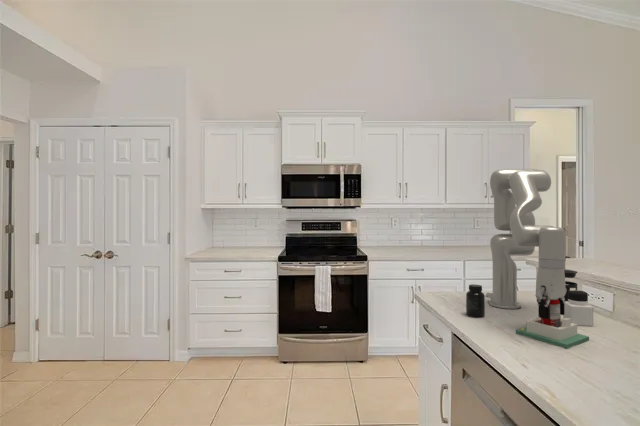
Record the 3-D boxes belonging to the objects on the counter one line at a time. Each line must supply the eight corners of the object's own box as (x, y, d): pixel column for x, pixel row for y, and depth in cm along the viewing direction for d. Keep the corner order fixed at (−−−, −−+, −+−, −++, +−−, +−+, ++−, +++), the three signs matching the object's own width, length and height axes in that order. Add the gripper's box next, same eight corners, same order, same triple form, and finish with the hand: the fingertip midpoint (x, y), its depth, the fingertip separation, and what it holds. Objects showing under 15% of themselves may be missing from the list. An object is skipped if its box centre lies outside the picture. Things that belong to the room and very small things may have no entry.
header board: (515, 333, 125) (515, 312, 125) (538, 326, 132) (538, 307, 132) (566, 348, 111) (566, 325, 111) (589, 340, 118) (589, 318, 118)
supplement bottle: (472, 312, 152) (472, 283, 151) (488, 316, 146) (488, 285, 146) (462, 314, 148) (462, 285, 148) (478, 318, 142) (478, 288, 142)
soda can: (543, 329, 126) (541, 294, 126) (562, 331, 122) (560, 295, 122) (540, 333, 122) (538, 297, 122) (559, 336, 118) (557, 299, 118)
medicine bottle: (593, 326, 132) (593, 293, 132) (571, 325, 134) (571, 292, 134) (583, 320, 139) (583, 289, 139) (562, 319, 141) (562, 288, 141)
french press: (575, 309, 155) (575, 255, 154) (583, 315, 146) (583, 258, 146) (543, 307, 159) (543, 254, 158) (549, 313, 150) (549, 256, 150)
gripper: (553, 260, 129) (553, 309, 129) (525, 264, 120) (525, 317, 121) (577, 263, 123) (577, 315, 123) (549, 267, 114) (549, 323, 114)
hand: (551, 315), depth 122 cm, fingers open, 8 cm apart
